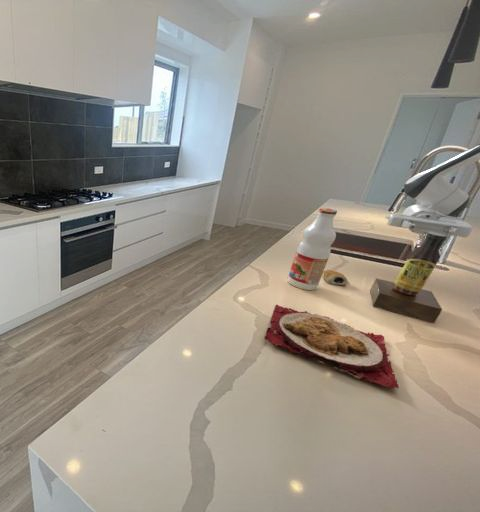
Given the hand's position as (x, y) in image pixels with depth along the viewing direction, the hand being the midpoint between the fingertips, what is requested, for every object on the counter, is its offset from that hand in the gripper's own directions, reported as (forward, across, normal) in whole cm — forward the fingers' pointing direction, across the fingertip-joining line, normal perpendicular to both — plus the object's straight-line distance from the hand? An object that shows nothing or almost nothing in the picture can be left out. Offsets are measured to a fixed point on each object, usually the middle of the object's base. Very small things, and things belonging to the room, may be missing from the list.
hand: (431, 229), depth 99 cm
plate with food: (+55, -21, +23) cm, 63 cm away
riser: (+15, -2, +23) cm, 28 cm away
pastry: (+8, -20, +23) cm, 32 cm away
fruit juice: (+20, -29, +23) cm, 42 cm away
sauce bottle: (+15, -2, +18) cm, 24 cm away
